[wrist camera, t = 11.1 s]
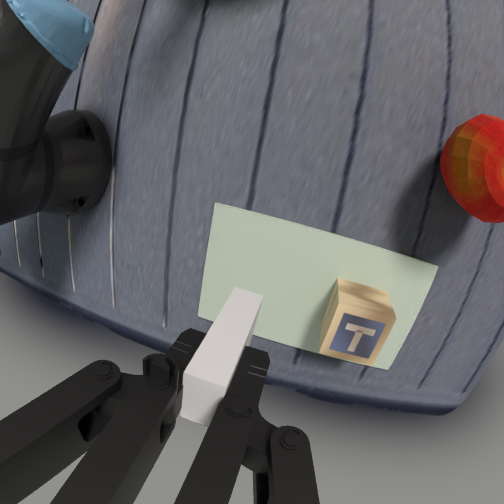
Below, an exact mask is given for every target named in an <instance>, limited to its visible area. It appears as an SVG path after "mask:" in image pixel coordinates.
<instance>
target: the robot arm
mask: <svg viewBox="0 0 504 504" xmlns="http://www.w3.org/2000/svg"><path fill="white" fill-rule="evenodd" d="M93 34H94V24H93V21H92V20H91V18H90V17H89V16H88V15H86V14H85V13H84V12H82V11H81V10H80V9H78V8H77V7H75V6H74V5H72V4H71V3H69V2H67V1H66V0H0V225H3V224H5V223H8V222H11V221H14V220H16V219H19V218H22V217H25V216H28V215H31V214H34V213H37V212H47V213H55V214H63V215H73V214H77V213H80V212H83V211H86V210H88V209H90V208H92V207H93V206H94V205H95V204H96V203H97V202H98V201H99V199H100V198H101V196H102V195H103V193H104V191H105V188H106V186H107V183H108V180H109V175H110V169H111V148H110V142H109V138H108V135H107V132H106V130H105V127H104V126H103V124H102V122H101V121H100V120H99V119H98V118H97V117H96V116H95V115H94V114H92V113H91V112H88V111H84V110H67V111H63V112H61V113H58V114H55V115H53V116H50V114H51V112H52V110H53V108H54V106H55V104H56V102H57V100H58V98H59V96H60V94H61V92H62V90H63V88H64V86H65V84H66V83H67V81H68V79H69V77H70V75H71V74H72V72H73V70H74V71H75V70H76V69H77V67H78V62H79V60H80V58H81V56H82V54H83V52H84V51H85V49H86V47H87V46H88V44H89V42H90V41H91V39H92V37H93ZM49 116H50V117H49ZM263 296H264V295H260V294H257V293H253V292H250V291H247V290H243V289H240V288H237V287H235V288H234V290H233V291H232V293H231V295H230V296H229V298H228V300H227V301H226V303H225V305H224V306H223V308H222V310H221V311H220V313H219V315H218V316H217V318H216V320H215V321H214V323H213V325H212V326H211V328H210V330H209V331H208V333H207V334H206V333H203V332H200V331H197V330H194V329H192V328H190V329H188V330H186V331H184V332H182V333H181V334H180V336H179V337H178V338H177V340H176V342H174V344H173V345H172V347H171V348H170V349H169V351H168V352H167V353H166V355H165V354H151V355H148V356H146V357H145V358H144V359H143V375H133V374H127V373H121V372H120V369H119V367H118V366H117V365H116V364H114V363H113V362H111V361H107V360H98V361H95V362H93V363H91V364H89V365H88V366H86V367H85V368H83V369H81V370H80V371H78V372H77V373H75V374H73V375H72V376H70V377H69V378H67V379H66V380H64V381H62V382H61V383H59V384H58V385H56V386H55V387H53V388H52V389H50V390H48V391H47V392H45V393H43V394H42V395H40V396H39V397H37V398H36V399H34V400H32V401H31V402H29V403H28V404H26V405H25V406H23V407H21V408H20V409H18V410H16V411H15V412H13V413H12V414H10V415H9V416H7V417H5V418H4V419H2V420H1V421H0V504H17V503H19V502H20V501H21V500H23V499H24V498H26V497H27V496H28V495H30V494H31V493H33V492H34V491H35V490H37V489H38V488H40V487H41V486H42V485H43V484H45V483H46V482H48V481H49V480H50V479H52V478H53V477H54V476H55V475H57V474H58V473H60V472H61V471H62V470H63V469H65V468H66V467H67V466H68V465H70V464H71V463H72V462H74V461H75V460H76V459H77V458H79V457H80V456H81V455H83V454H84V453H85V452H86V451H87V453H86V454H85V455H84V457H83V458H82V460H81V461H80V462H79V464H78V465H77V466H76V468H75V469H74V471H73V472H72V474H71V475H70V476H69V478H68V479H67V480H66V482H65V483H64V485H63V486H62V487H61V489H60V490H59V492H58V493H57V495H56V496H55V497H54V499H53V500H52V502H51V503H50V504H133V503H134V501H135V499H136V497H137V495H138V494H139V492H140V490H141V488H142V486H143V484H144V483H145V481H146V479H147V477H148V475H149V473H150V472H151V470H152V468H153V466H154V464H155V462H156V461H157V459H158V457H159V455H160V453H161V451H162V450H163V448H164V446H165V444H166V442H167V440H168V438H169V436H170V435H171V433H172V431H173V429H174V427H175V423H176V417H177V415H178V414H179V412H180V417H183V418H186V419H188V420H191V421H193V422H196V423H199V424H202V425H204V426H207V427H208V430H207V432H206V434H205V436H204V439H203V441H202V443H201V446H200V448H199V450H198V452H197V455H196V457H195V459H194V461H193V464H192V466H191V468H190V470H189V472H188V474H187V477H186V479H185V481H184V483H183V485H182V487H181V490H180V492H179V494H178V496H177V498H176V501H175V503H174V504H228V502H229V500H230V497H231V494H232V490H233V488H234V485H235V482H236V479H237V476H238V472H239V469H240V466H241V464H242V465H243V466H245V467H246V468H248V469H250V470H252V471H253V493H254V504H320V503H319V497H318V490H317V484H316V478H315V472H314V466H313V460H312V454H311V449H310V442H309V439H308V437H307V435H306V434H305V433H304V432H303V431H302V430H300V429H298V428H296V427H293V426H281V427H279V428H278V427H276V426H274V425H272V424H271V423H269V422H268V421H266V420H265V419H264V418H263V417H262V416H261V414H260V412H259V408H258V404H259V400H260V396H261V393H262V389H263V386H264V382H265V378H266V375H267V371H268V367H269V363H270V359H269V356H268V352H265V351H262V350H258V349H255V348H252V347H249V344H250V341H251V339H252V336H253V332H254V328H255V325H256V321H257V318H258V314H259V310H260V307H261V303H262V299H263Z"/></svg>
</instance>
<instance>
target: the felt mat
mask: <svg viewBox="0 0 504 504" xmlns="http://www.w3.org/2000/svg"><path fill="white" fill-rule="evenodd" d="M437 269H438V266H437V265H434V264H431V263H428V262H425V261H422V260H419V259H416V258H413V257H409V256H406V255H403V254H400V253H397V252H394V251H390V250H387V249H384V248H381V247H377V246H374V245H371V244H367V243H364V242H361V241H357V240H354V239H351V238H347V237H344V236H340V235H337V234H333V233H330V232H326V231H323V230H319V229H316V228H312V227H309V226H305V225H301V224H298V223H294V222H290V221H287V220H283V219H279V218H276V217H272V216H268V215H264V214H260V213H257V212H253V211H249V210H245V209H241V208H237V207H233V206H229V205H225V204H221V203H217V202H216V203H215V207H214V213H213V219H212V225H211V231H210V237H209V243H208V249H207V256H206V262H205V269H204V275H203V282H202V289H201V296H200V303H199V311H198V317H201V318H204V319H207V320H210V321H213V322H214V321H215V320H216V318H217V316H218V315H219V313H220V311H221V310H222V308H223V306H224V305H225V303H226V301H227V300H228V298H229V296H230V295H231V293H232V291H233V290H234V288H235V287H237V288H240V289H243V290H247V291H250V292H253V293H257V294H260V295H264V296H263V299H262V303H261V307H260V310H259V314H258V318H257V321H256V325H255V328H254V332H253V335H256V336H259V337H262V338H265V339H269V340H272V341H275V342H279V343H282V344H286V345H289V346H293V347H296V348H300V349H303V350H307V351H311V352H315V353H318V354H321V353H319V345H320V333H321V322H322V320H323V317H324V314H325V312H326V309H327V306H328V304H329V301H330V298H331V295H332V292H333V290H334V287H335V284H336V281H337V278H341V279H344V280H348V281H351V282H355V283H358V284H362V285H365V286H369V287H373V288H376V289H380V290H383V291H387V293H388V296H389V299H390V301H391V304H392V307H393V310H394V312H395V315H396V318H397V319H396V321H395V323H394V325H393V327H392V329H391V331H390V333H389V335H388V337H387V339H386V341H385V343H384V345H383V347H382V349H381V351H380V353H379V355H378V357H377V358H376V360H375V362H374V364H373V366H372V367H376V368H381V369H386V370H388V369H389V367H390V366H391V364H392V362H393V360H394V359H395V357H396V355H397V353H398V352H399V350H400V348H401V346H402V344H403V342H404V341H405V339H406V337H407V335H408V333H409V331H410V329H411V327H412V325H413V323H414V321H415V319H416V317H417V315H418V313H419V311H420V309H421V306H422V304H423V302H424V300H425V298H426V295H427V293H428V291H429V289H430V286H431V284H432V282H433V279H434V277H435V274H436V272H437ZM322 355H325V354H322ZM326 356H329V355H326ZM330 357H333V356H330ZM334 358H336V357H334ZM338 359H340V358H338ZM342 360H345V359H342ZM346 361H349V360H346ZM350 362H353V361H350ZM354 363H357V362H354ZM359 364H361V363H359ZM363 365H366V364H363ZM367 366H370V365H367Z"/></svg>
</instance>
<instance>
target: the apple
mask: <svg viewBox="0 0 504 504" xmlns="http://www.w3.org/2000/svg"><path fill="white" fill-rule="evenodd" d="M440 170H441V173H442V176H443V179H444V182H445V184H446V187H447V189H448V191H449V193H450V194H451V195H452V196H453V198H454V199H455V200H456V201H457V202H458V204H459V205H460V206H461V207H462V208H464V209H465V210H466V211H467V212H468V213H469V214H471V215H472V216H474V217H476V218H478V219H480V220H482V221H483V222H491V223H501V222H504V120H502V119H500V118H498V117H495V116H490V115H485V114H480V115H478V116H476V117H474V118H472V119H470V120H468V121H466V122H465V123H463V124H461V125H460V126H458V127H456V129H455V130H454V132H453V133H452V134H451V136H450V137H449V138H448V140H447V142H446V144H445V146H444V148H443V151H442V154H441V159H440Z"/></svg>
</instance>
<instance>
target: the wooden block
mask: <svg viewBox="0 0 504 504" xmlns="http://www.w3.org/2000/svg"><path fill="white" fill-rule="evenodd" d="M396 319H397V318H396V315H395V312H394V310H393V307H392V304H391V301H390V299H389V296H388V293H387V291H383V290H380V289H376V288H373V287H369V286H365V285H362V284H358V283H355V282H351V281H348V280H344V279H341V278H337V281H336V284H335V287H334V290H333V292H332V295H331V298H330V301H329V304H328V306H327V309H326V312H325V314H324V317H323V320H322V322H321V333H320V345H319V353H321V354H325V355H329V356H333V357H336V358H340V359H345V360H349V361H353V362H357V363H361V364H366V365H370V366H373V364H374V362H375V360H376V358H377V357H378V355H379V353H380V351H381V349H382V347H383V345H384V343H385V341H386V339H387V337H388V335H389V333H390V331H391V329H392V327H393V325H394V323H395V321H396Z"/></svg>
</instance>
